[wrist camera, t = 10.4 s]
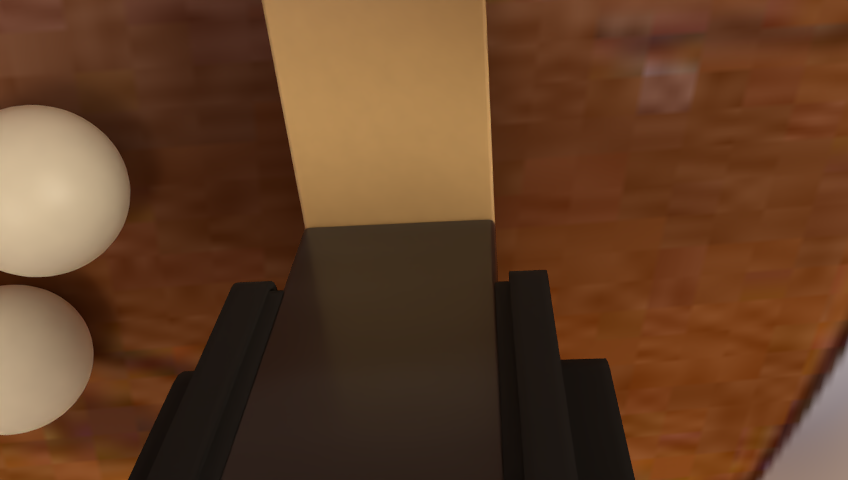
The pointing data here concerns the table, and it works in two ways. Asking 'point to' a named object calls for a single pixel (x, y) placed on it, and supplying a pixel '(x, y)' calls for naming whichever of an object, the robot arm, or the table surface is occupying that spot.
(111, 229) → the crumb
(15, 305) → the crumb
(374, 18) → the brush
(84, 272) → the table surface
